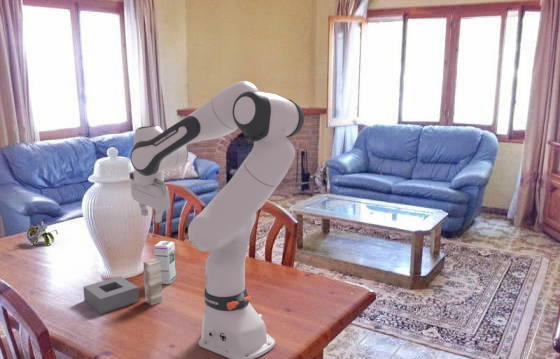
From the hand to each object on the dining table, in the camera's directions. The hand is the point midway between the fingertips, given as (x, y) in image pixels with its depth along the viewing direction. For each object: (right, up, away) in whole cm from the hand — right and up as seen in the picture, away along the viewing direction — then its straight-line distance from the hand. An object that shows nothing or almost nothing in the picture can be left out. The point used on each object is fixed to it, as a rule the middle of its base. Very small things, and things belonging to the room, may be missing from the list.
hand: (151, 218), depth 159 cm
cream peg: (0, -28, +5) cm, 29 cm away
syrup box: (0, -25, +22) cm, 33 cm away
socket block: (-15, -28, +6) cm, 32 cm away
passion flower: (-66, -16, +63) cm, 93 cm away
